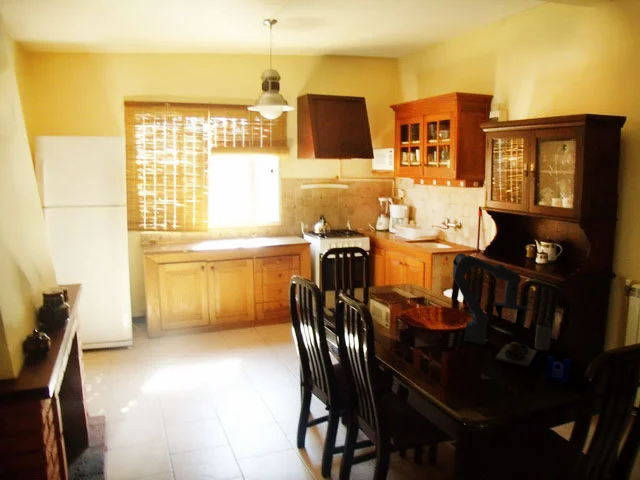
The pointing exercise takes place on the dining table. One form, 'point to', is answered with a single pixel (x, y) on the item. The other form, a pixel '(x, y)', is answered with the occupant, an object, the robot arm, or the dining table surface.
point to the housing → (522, 359)
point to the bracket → (556, 374)
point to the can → (543, 336)
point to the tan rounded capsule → (515, 348)
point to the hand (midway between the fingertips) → (508, 323)
